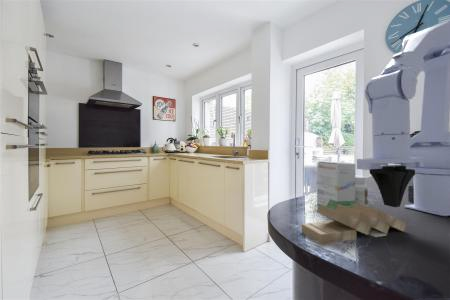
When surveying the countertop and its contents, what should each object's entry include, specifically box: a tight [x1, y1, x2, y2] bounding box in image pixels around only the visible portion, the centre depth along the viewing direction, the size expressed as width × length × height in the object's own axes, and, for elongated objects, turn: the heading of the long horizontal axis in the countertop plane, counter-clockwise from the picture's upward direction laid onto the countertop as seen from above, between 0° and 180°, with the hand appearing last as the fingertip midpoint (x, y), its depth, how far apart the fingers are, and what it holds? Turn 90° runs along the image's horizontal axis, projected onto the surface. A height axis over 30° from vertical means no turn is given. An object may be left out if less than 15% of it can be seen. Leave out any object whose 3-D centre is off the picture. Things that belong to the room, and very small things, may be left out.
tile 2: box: [336, 204, 391, 235], centre depth 38 cm, size 2×5×7 cm
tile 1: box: [353, 203, 407, 232], centre depth 39 cm, size 2×5×7 cm
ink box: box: [316, 161, 357, 210], centre depth 54 cm, size 9×5×12 cm, turn 9°
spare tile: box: [316, 204, 372, 236], centre depth 37 cm, size 2×5×7 cm
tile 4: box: [301, 219, 357, 245], centre depth 36 cm, size 2×5×7 cm
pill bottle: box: [355, 175, 369, 207], centre depth 55 cm, size 4×4×8 cm
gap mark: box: [368, 228, 387, 238], centre depth 38 cm, size 3×6×1 cm, turn 15°
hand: (391, 205), depth 40 cm, fingers closed
